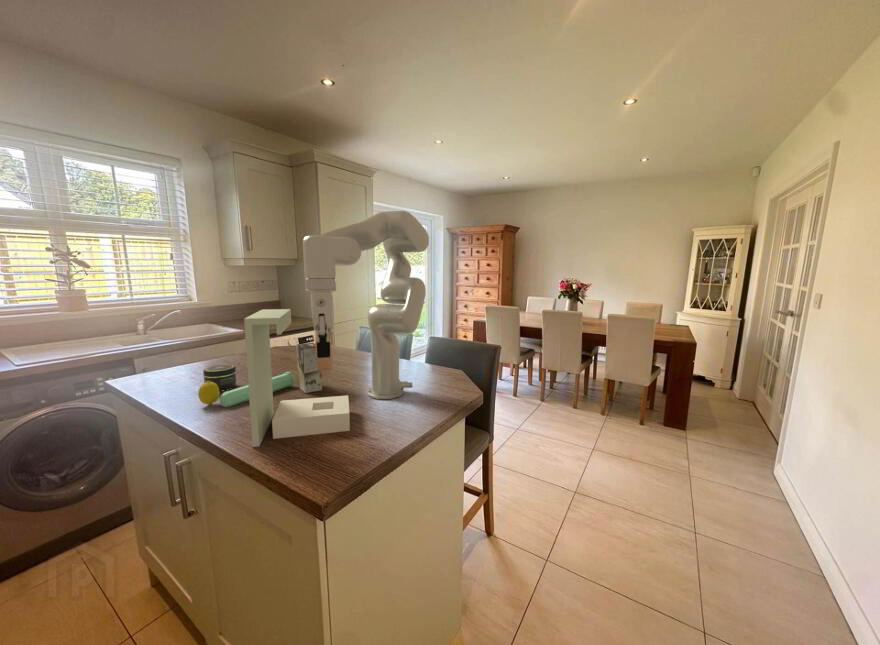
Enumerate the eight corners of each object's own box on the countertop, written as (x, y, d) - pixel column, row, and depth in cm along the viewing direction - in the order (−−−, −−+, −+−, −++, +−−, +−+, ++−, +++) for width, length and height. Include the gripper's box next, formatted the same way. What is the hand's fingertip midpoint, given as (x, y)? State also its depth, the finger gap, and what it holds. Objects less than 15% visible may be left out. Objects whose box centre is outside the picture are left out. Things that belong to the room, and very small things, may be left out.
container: (223, 390, 108) (291, 369, 129) (213, 394, 110) (282, 373, 132) (229, 408, 107) (296, 384, 129) (219, 412, 110) (287, 388, 132)
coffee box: (323, 390, 127) (321, 346, 124) (304, 393, 123) (303, 348, 121) (314, 383, 134) (313, 342, 132) (297, 386, 130) (295, 344, 128)
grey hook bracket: (295, 412, 106) (290, 309, 102) (285, 443, 87) (279, 317, 83) (268, 415, 104) (262, 309, 100) (252, 447, 85) (244, 318, 81)
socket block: (348, 411, 108) (348, 395, 107) (349, 430, 95) (349, 413, 94) (281, 417, 103) (280, 400, 102) (273, 438, 90) (272, 420, 89)
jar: (199, 389, 126) (197, 368, 125) (228, 382, 134) (226, 362, 133) (213, 394, 121) (211, 373, 120) (242, 386, 129) (241, 366, 128)
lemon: (224, 404, 112) (222, 379, 111) (206, 409, 107) (204, 384, 106) (213, 401, 115) (211, 377, 113) (195, 406, 110) (193, 382, 108)
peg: (332, 365, 96) (330, 322, 94) (332, 369, 92) (330, 324, 90) (316, 366, 94) (314, 322, 93) (316, 371, 91) (314, 325, 89)
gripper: (336, 287, 83) (339, 362, 86) (335, 283, 99) (338, 347, 102) (302, 287, 81) (306, 364, 84) (307, 283, 96) (310, 348, 99)
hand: (324, 354), depth 93 cm, fingers closed on peg, 4 cm apart
